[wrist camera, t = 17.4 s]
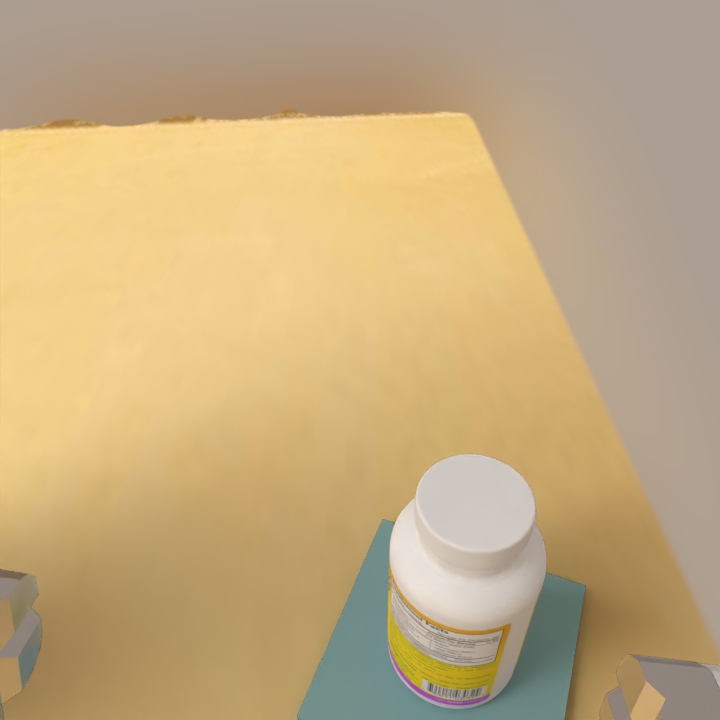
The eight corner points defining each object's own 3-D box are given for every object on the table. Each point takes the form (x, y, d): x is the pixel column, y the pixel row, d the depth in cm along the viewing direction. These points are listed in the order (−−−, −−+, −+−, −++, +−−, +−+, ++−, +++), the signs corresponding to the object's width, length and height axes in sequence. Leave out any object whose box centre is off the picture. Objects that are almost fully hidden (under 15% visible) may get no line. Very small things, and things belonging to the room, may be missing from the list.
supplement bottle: (454, 565, 38) (479, 410, 30) (542, 659, 34) (601, 511, 26) (360, 634, 35) (357, 484, 27) (444, 745, 32) (473, 611, 23)
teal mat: (297, 720, 33) (297, 716, 32) (382, 524, 41) (382, 519, 41) (545, 827, 30) (547, 823, 29) (583, 591, 38) (585, 585, 37)
